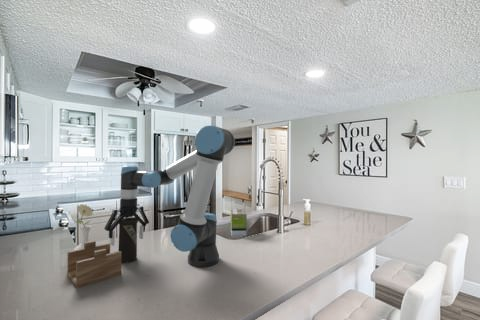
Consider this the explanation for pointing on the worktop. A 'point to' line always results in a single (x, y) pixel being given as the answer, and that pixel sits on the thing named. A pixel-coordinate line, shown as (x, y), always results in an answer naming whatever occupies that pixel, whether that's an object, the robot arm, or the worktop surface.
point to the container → (128, 239)
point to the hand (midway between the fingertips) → (127, 241)
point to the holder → (93, 264)
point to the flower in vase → (85, 229)
